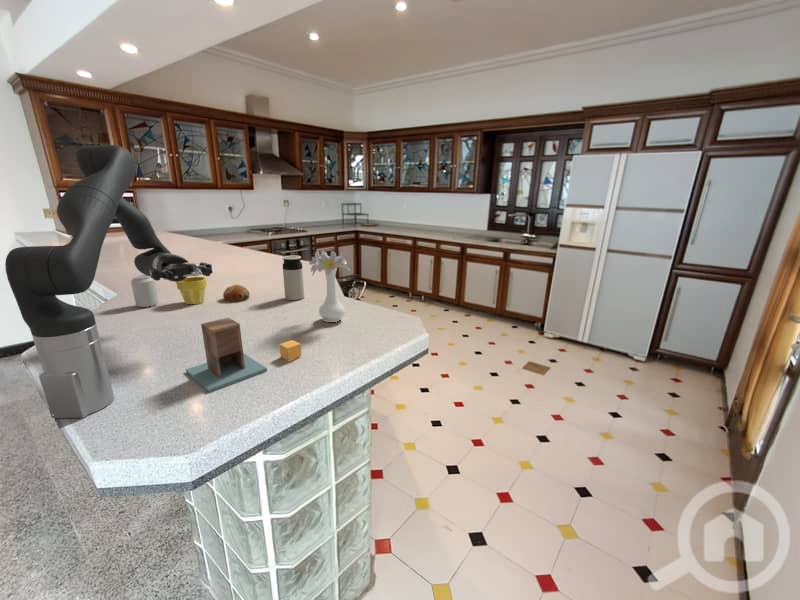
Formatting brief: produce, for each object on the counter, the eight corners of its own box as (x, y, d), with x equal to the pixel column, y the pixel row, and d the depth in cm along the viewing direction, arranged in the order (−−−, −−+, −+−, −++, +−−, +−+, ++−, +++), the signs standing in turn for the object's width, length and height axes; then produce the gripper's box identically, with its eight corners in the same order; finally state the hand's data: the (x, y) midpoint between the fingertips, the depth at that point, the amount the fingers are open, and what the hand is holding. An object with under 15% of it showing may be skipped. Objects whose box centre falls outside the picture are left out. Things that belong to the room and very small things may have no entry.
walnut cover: (245, 368, 88) (239, 323, 85) (218, 377, 84) (211, 330, 80) (233, 360, 92) (228, 317, 89) (208, 368, 88) (201, 323, 84)
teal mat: (267, 371, 89) (266, 368, 88) (208, 392, 79) (208, 389, 78) (241, 354, 97) (241, 351, 97) (186, 372, 87) (185, 369, 87)
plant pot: (181, 300, 146) (177, 277, 143) (209, 297, 150) (206, 275, 147) (178, 307, 137) (174, 283, 134) (208, 304, 141) (204, 280, 138)
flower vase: (337, 310, 136) (334, 245, 129) (358, 324, 122) (357, 252, 115) (304, 315, 130) (300, 248, 122) (323, 331, 115) (319, 255, 108)
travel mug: (305, 299, 149) (302, 258, 144) (286, 301, 146) (282, 258, 141) (303, 295, 156) (300, 254, 151) (284, 296, 153) (281, 255, 148)
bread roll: (245, 303, 156) (240, 286, 156) (255, 297, 149) (249, 279, 149) (223, 308, 148) (217, 290, 148) (232, 302, 141) (226, 283, 141)
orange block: (301, 357, 97) (300, 343, 96) (288, 361, 94) (287, 348, 93) (293, 352, 99) (292, 339, 98) (280, 357, 96) (279, 344, 95)
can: (147, 309, 134) (141, 278, 131) (131, 307, 136) (124, 277, 132) (163, 303, 141) (158, 274, 138) (148, 302, 143) (142, 273, 139)
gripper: (139, 256, 97) (157, 263, 86) (195, 251, 107) (217, 257, 96) (144, 283, 99) (162, 293, 88) (199, 276, 109) (220, 284, 98)
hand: (191, 274), depth 92 cm, fingers open, 8 cm apart
